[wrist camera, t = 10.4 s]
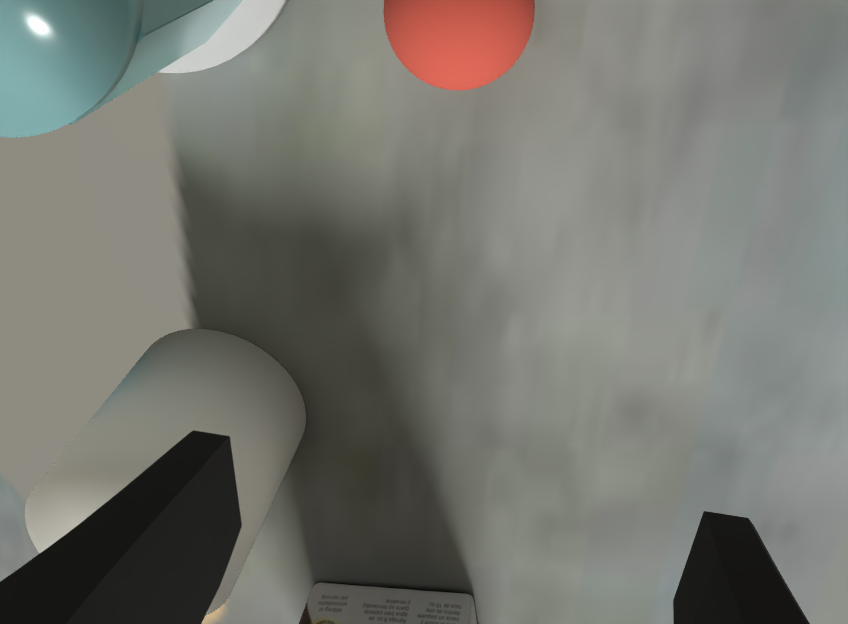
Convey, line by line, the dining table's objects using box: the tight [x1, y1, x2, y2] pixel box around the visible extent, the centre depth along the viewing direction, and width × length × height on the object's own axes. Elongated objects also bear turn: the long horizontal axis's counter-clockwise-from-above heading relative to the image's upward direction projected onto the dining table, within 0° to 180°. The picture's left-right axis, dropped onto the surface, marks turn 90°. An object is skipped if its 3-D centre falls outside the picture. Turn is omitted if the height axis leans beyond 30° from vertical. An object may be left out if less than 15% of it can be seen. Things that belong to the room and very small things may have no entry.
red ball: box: [384, 0, 535, 90], centre depth 15 cm, size 3×3×3 cm
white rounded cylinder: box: [25, 329, 306, 615], centre depth 22 cm, size 6×6×6 cm
